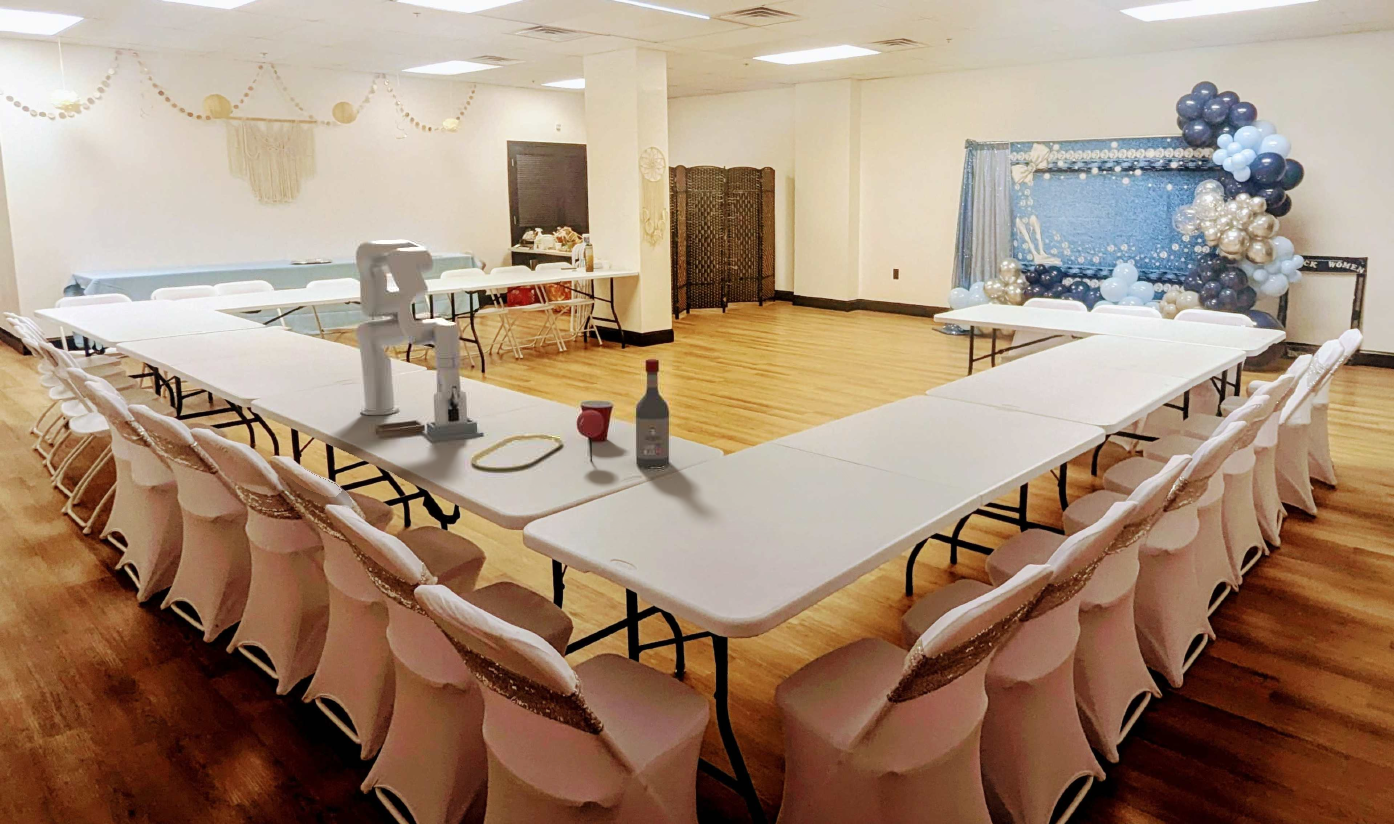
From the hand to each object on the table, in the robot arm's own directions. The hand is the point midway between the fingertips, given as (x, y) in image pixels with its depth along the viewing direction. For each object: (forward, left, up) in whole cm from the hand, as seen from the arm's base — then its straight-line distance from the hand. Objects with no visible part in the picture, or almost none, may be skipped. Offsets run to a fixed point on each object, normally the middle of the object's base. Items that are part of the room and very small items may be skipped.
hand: (451, 418), depth 285 cm
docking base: (0, 0, -5) cm, 5 cm away
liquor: (+59, +39, -5) cm, 71 cm away
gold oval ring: (+30, +10, -6) cm, 32 cm away
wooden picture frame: (-10, -13, -5) cm, 18 cm away
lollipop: (+48, +25, -5) cm, 55 cm away
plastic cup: (+28, +37, -5) cm, 47 cm away
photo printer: (0, 0, -3) cm, 3 cm away
